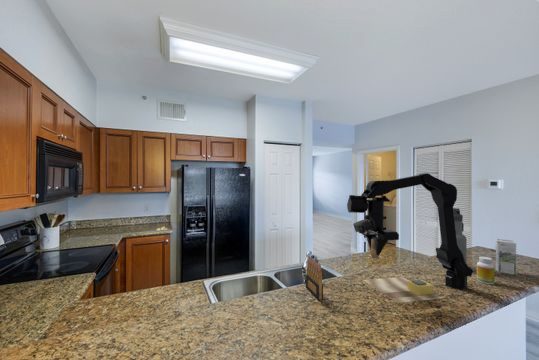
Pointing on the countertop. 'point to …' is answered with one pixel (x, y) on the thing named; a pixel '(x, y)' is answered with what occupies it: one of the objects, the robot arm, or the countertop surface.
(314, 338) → the countertop surface
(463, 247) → the water bottle
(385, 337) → the countertop surface
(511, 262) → the syrup box
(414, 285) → the block
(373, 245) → the wooden tool handle
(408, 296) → the plywood panel
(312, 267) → the ammunition clip
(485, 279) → the supplement bottle
